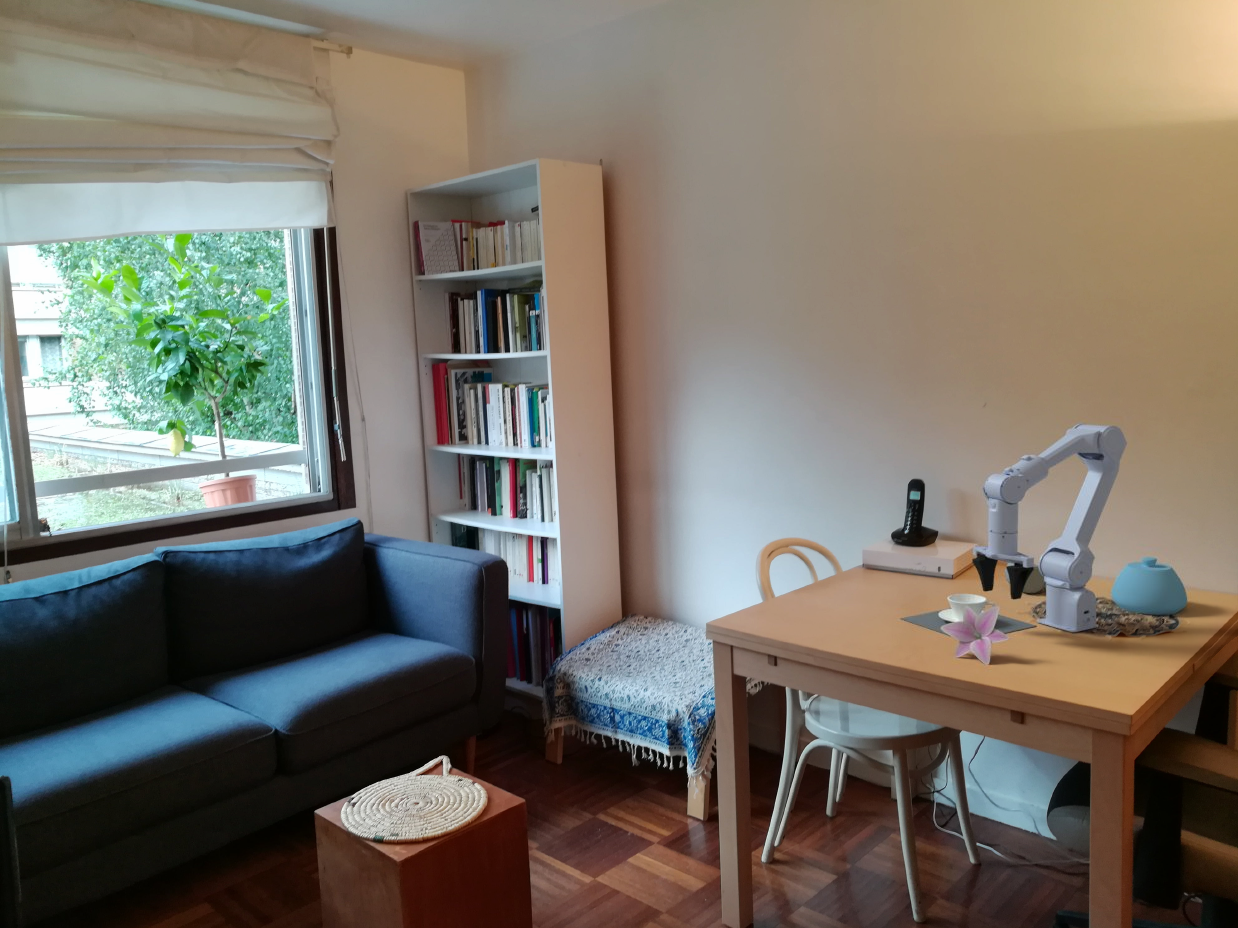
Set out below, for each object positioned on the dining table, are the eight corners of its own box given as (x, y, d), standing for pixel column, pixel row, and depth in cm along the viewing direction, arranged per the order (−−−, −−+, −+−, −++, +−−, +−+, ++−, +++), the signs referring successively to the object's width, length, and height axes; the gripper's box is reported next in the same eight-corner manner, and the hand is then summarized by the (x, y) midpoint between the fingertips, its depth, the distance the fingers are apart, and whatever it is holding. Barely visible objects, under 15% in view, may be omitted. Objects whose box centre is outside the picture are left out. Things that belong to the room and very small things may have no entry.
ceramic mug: (1018, 595, 224) (1019, 564, 223) (1003, 587, 232) (1004, 557, 231) (1061, 594, 224) (1062, 563, 223) (1045, 585, 232) (1045, 556, 231)
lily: (935, 652, 188) (930, 619, 183) (980, 624, 191) (976, 590, 186) (979, 686, 178) (974, 652, 173) (1025, 656, 181) (1022, 621, 176)
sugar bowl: (1182, 620, 199) (1184, 567, 197) (1105, 611, 208) (1106, 561, 207) (1190, 604, 211) (1191, 554, 209) (1117, 596, 220) (1118, 548, 218)
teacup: (1001, 630, 196) (1001, 605, 196) (942, 629, 199) (942, 605, 198) (990, 614, 208) (990, 591, 208) (935, 613, 211) (934, 591, 210)
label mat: (1036, 626, 199) (1036, 625, 199) (967, 641, 190) (967, 640, 190) (966, 605, 217) (966, 604, 217) (900, 618, 208) (900, 617, 208)
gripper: (962, 527, 197) (961, 589, 199) (1016, 538, 184) (1015, 604, 186) (987, 524, 200) (986, 585, 202) (1042, 535, 187) (1040, 600, 188)
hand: (1001, 594), depth 194 cm, fingers open, 7 cm apart
